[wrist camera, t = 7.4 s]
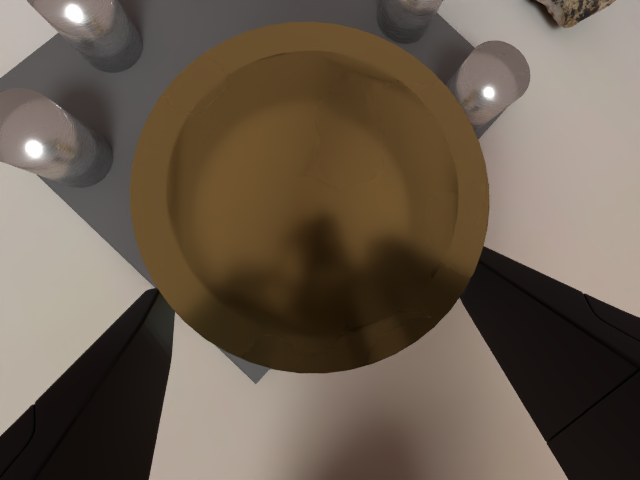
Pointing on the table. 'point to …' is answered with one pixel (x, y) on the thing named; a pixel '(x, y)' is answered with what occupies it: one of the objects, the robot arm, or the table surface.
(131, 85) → the mat
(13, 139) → the spacers
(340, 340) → the brass sleeve
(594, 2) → the stone
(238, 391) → the table surface
